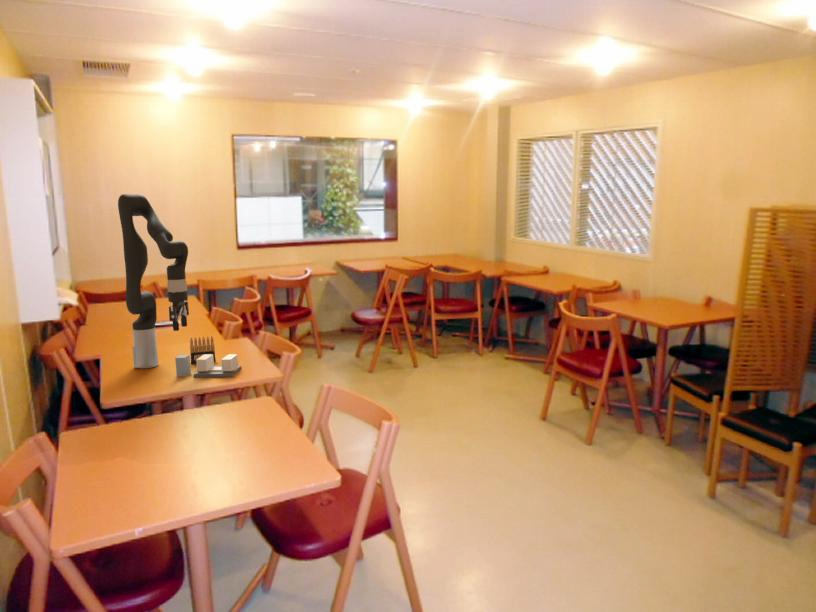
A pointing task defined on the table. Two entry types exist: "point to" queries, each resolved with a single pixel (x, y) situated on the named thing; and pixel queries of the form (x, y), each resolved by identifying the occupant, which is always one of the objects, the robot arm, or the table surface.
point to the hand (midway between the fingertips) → (180, 328)
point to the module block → (183, 365)
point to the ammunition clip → (200, 347)
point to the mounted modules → (208, 362)
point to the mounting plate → (216, 372)
